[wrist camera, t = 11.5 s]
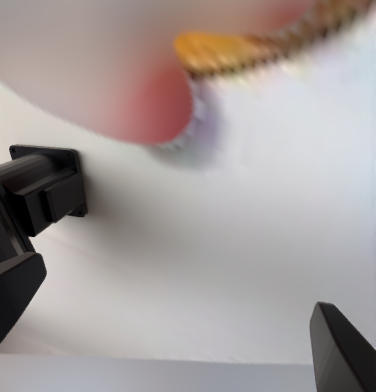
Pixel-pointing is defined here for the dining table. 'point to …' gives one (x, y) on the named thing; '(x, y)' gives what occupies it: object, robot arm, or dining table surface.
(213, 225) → the dining table surface
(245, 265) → the dining table surface
